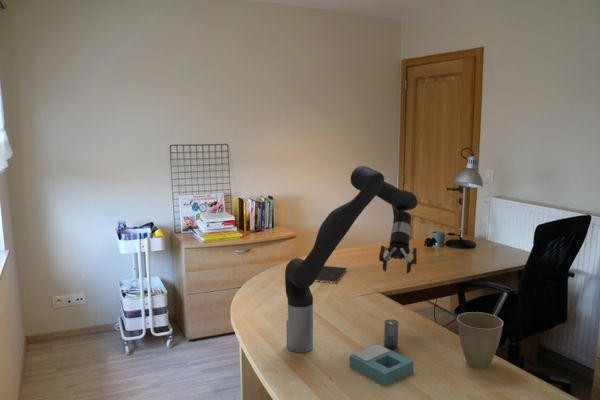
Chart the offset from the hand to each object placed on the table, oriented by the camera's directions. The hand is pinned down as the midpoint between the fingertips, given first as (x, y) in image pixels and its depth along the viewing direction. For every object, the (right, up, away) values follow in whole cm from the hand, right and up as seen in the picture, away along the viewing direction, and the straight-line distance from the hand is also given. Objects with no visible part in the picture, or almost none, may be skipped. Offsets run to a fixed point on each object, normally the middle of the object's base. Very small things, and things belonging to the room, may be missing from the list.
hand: (396, 271), depth 195 cm
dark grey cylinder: (-3, -27, -7) cm, 28 cm away
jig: (-10, -30, -23) cm, 39 cm away
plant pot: (+24, -29, -19) cm, 43 cm away
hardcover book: (-22, -14, +78) cm, 82 cm away
